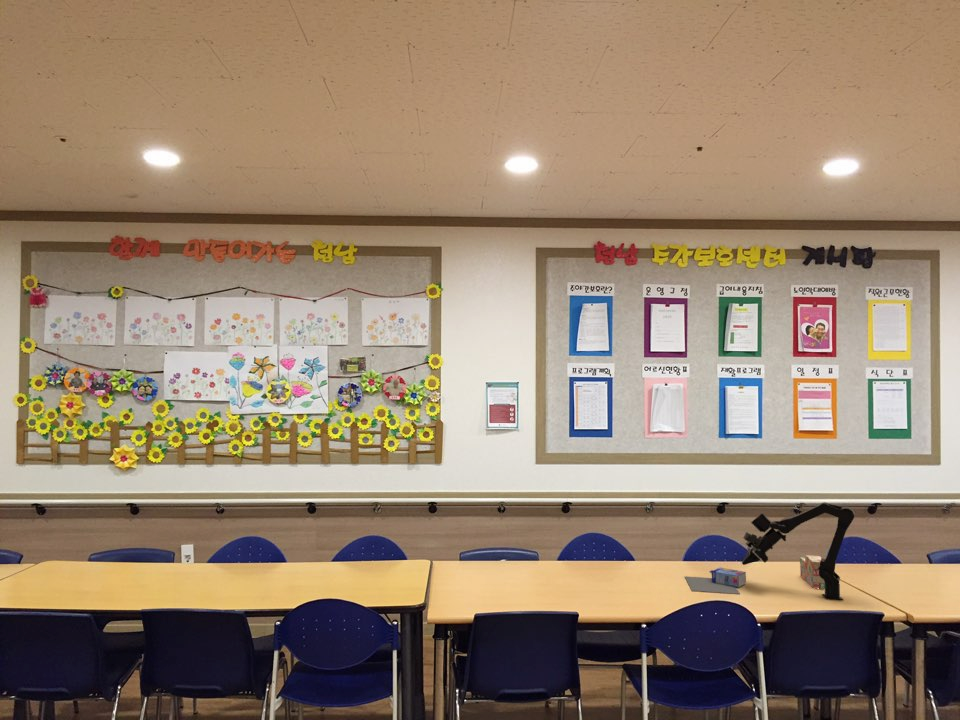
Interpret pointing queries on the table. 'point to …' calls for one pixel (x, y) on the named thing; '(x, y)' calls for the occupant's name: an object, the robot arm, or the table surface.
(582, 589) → the table surface
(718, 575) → the ink cartridge box
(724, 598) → the table surface
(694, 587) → the mat
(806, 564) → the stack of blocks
